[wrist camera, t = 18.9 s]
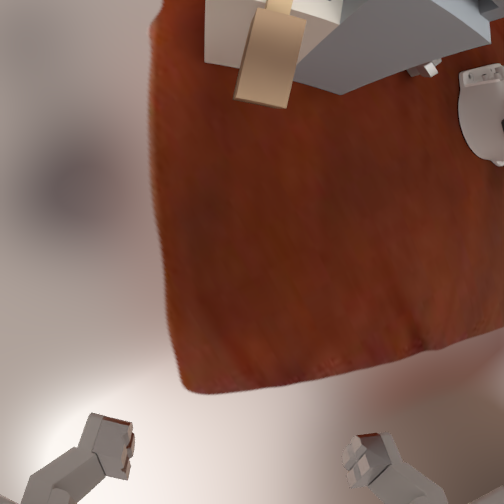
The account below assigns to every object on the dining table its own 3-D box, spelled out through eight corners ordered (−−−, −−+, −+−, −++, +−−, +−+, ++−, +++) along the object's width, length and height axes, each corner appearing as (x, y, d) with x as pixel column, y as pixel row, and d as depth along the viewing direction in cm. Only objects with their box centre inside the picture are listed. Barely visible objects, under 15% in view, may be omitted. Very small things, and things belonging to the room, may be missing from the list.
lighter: (419, 57, 36) (451, 45, 28) (425, 66, 37) (458, 56, 29) (393, 76, 37) (426, 65, 29) (400, 86, 37) (434, 76, 30)
